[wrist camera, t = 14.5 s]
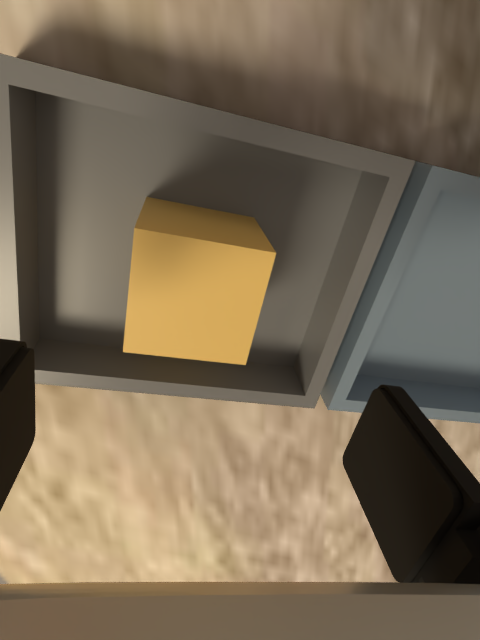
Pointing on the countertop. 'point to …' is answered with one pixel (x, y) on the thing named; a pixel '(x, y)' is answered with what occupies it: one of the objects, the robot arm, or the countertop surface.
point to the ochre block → (195, 283)
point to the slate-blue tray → (419, 305)
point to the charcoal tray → (186, 188)
